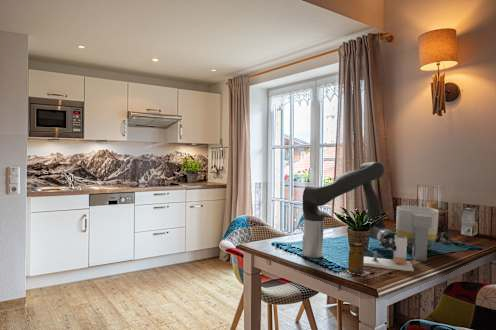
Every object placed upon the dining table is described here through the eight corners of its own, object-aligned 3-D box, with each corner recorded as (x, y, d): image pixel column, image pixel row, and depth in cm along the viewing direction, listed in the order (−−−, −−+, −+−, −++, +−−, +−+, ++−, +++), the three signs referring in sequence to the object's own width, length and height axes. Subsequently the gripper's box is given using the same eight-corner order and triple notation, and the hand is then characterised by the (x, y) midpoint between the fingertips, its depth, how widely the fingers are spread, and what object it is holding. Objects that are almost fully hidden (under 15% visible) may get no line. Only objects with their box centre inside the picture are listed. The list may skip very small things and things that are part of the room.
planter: (432, 257, 167) (435, 213, 166) (390, 249, 179) (392, 208, 178) (439, 249, 182) (441, 208, 181) (400, 242, 194) (402, 204, 193)
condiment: (351, 268, 149) (353, 240, 149) (370, 273, 143) (372, 244, 143) (343, 272, 144) (345, 243, 143) (363, 277, 138) (364, 248, 137)
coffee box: (466, 232, 224) (467, 207, 223) (477, 234, 219) (479, 209, 218) (460, 234, 218) (462, 208, 217) (472, 236, 213) (473, 210, 212)
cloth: (415, 239, 203) (416, 229, 203) (438, 237, 210) (439, 227, 210) (450, 250, 183) (451, 238, 182) (474, 247, 189) (475, 236, 189)
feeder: (412, 260, 162) (415, 215, 161) (409, 254, 171) (411, 212, 170) (429, 262, 160) (431, 217, 159) (425, 256, 169) (427, 213, 168)
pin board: (363, 265, 152) (364, 254, 152) (362, 258, 162) (363, 247, 162) (413, 271, 147) (414, 259, 147) (409, 264, 157) (409, 252, 156)
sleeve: (394, 262, 151) (395, 237, 151) (393, 259, 156) (394, 235, 155) (405, 263, 150) (407, 238, 150) (404, 260, 155) (405, 236, 154)
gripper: (372, 230, 167) (386, 239, 150) (402, 231, 167) (419, 240, 150) (372, 245, 167) (385, 256, 150) (402, 246, 167) (418, 257, 150)
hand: (402, 248), depth 150 cm, fingers closed on sleeve, 5 cm apart
